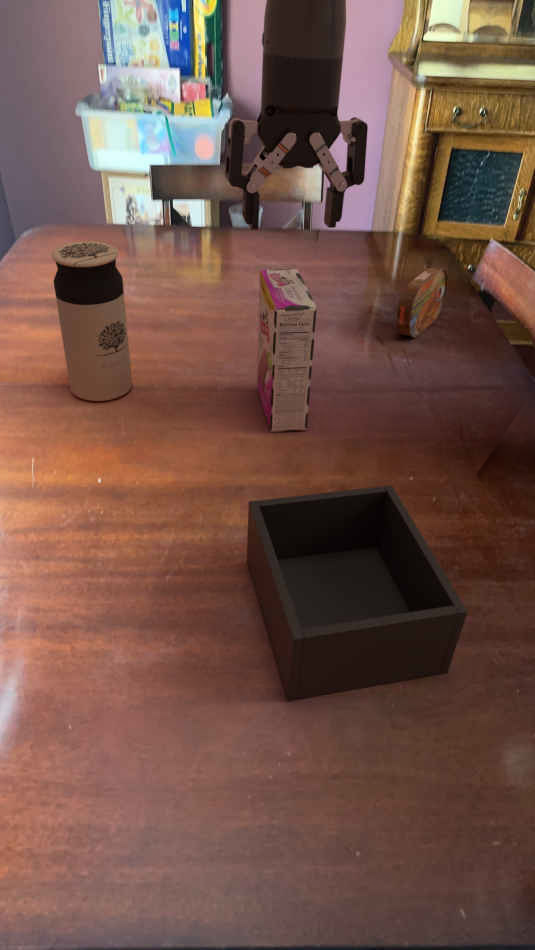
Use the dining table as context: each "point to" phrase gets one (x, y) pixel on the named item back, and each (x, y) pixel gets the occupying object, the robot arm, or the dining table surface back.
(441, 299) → the tin
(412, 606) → the basket
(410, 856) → the dining table surface
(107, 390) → the travel mug
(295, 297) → the candy bar box
